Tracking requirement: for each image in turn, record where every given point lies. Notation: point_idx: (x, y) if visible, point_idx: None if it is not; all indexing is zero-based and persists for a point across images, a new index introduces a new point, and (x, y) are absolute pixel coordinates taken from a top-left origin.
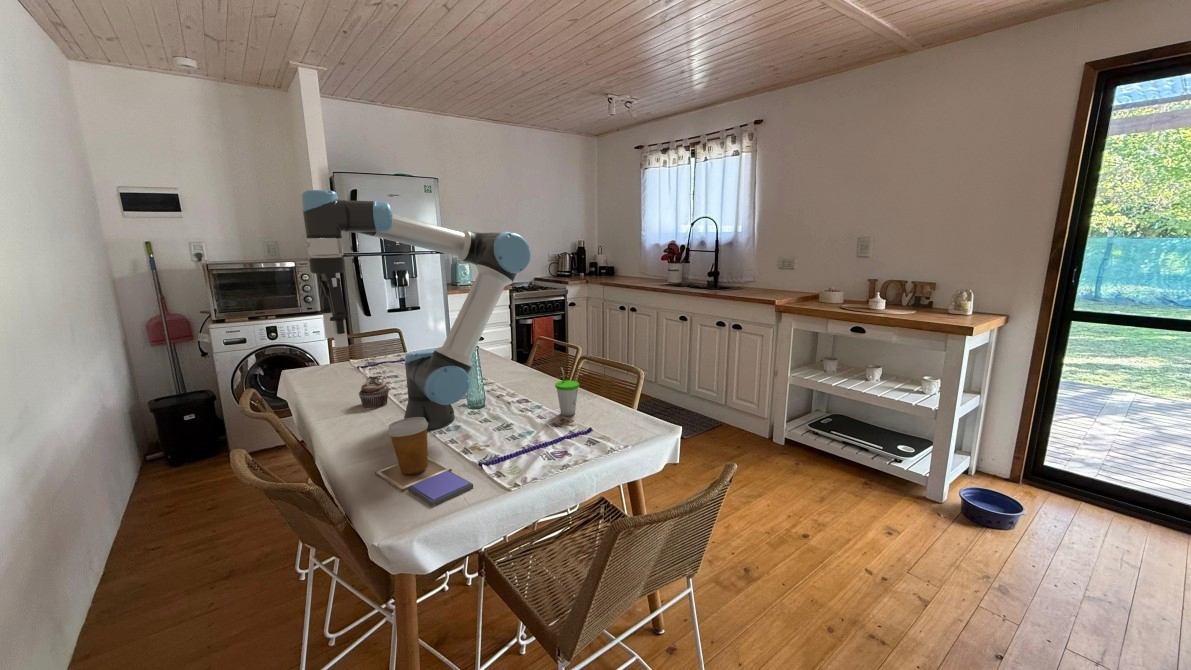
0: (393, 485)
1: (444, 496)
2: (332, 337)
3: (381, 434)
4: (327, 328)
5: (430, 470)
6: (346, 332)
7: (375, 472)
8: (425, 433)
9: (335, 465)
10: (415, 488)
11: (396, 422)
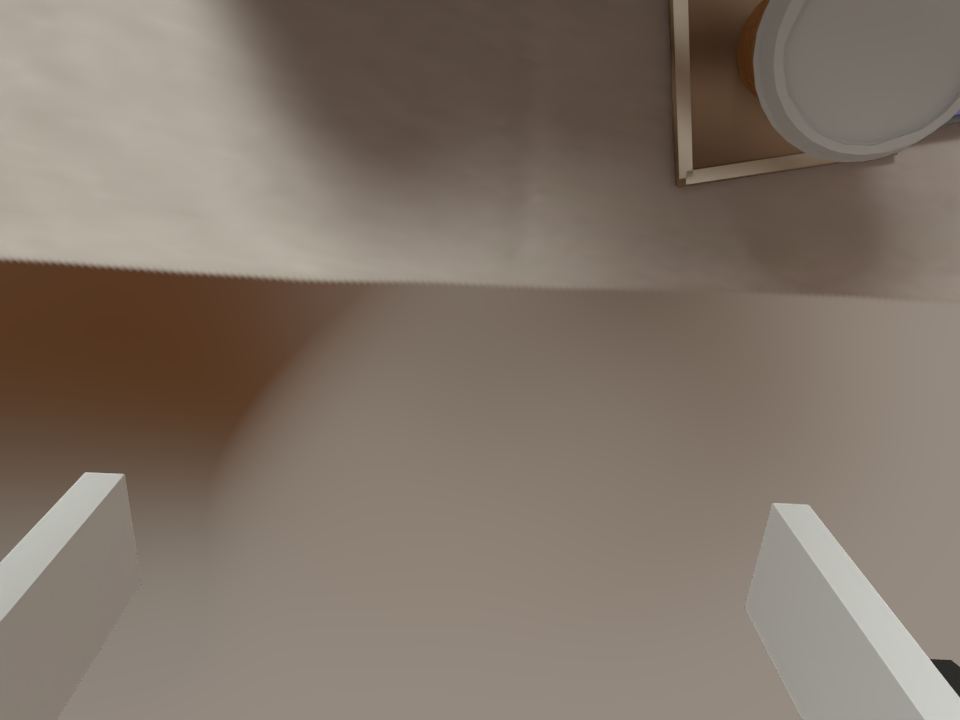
0: (831, 163)
1: None
2: (128, 527)
3: (254, 19)
4: (74, 661)
5: None
6: (905, 630)
7: (681, 186)
8: None
9: (484, 284)
10: (957, 114)
11: (784, 84)
